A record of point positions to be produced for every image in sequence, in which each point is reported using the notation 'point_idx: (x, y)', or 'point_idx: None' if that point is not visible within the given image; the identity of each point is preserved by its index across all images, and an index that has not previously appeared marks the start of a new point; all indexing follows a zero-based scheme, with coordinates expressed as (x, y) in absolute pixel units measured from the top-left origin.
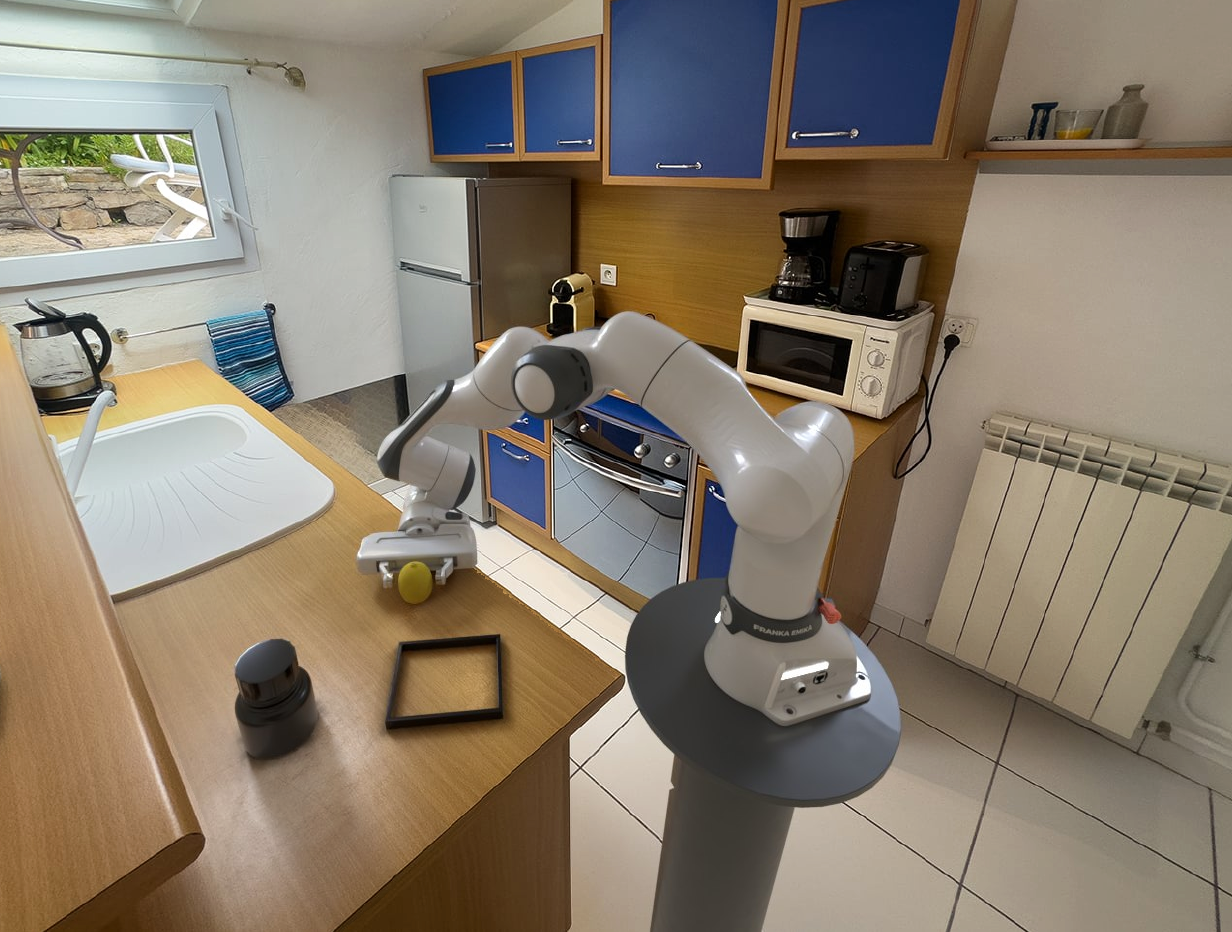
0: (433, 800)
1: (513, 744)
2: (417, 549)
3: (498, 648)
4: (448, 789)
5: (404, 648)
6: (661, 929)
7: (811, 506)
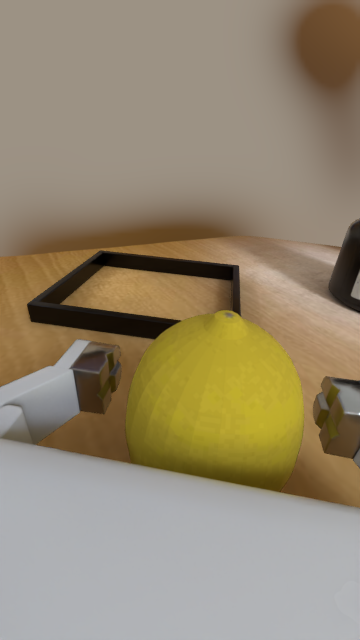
0: (186, 247)
1: None
2: (203, 574)
3: (52, 288)
4: (173, 248)
5: None
6: None
7: None
